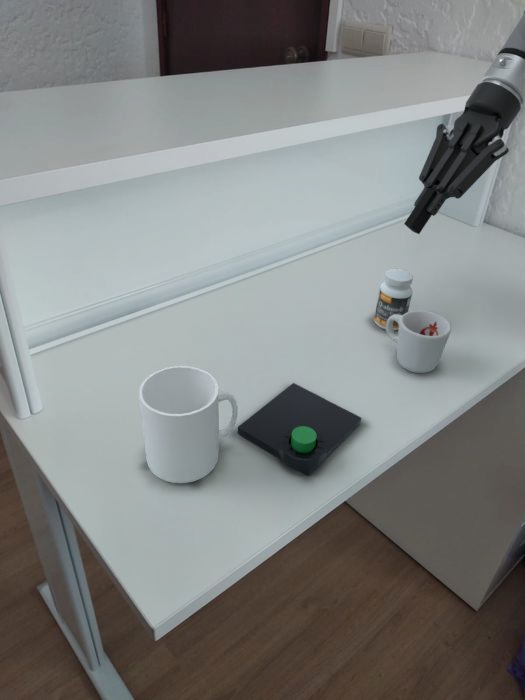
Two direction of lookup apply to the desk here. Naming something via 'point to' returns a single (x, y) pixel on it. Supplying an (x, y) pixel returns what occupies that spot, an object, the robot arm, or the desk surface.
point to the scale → (294, 411)
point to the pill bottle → (393, 296)
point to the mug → (182, 422)
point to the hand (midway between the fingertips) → (411, 229)
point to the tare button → (303, 439)
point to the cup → (419, 339)
